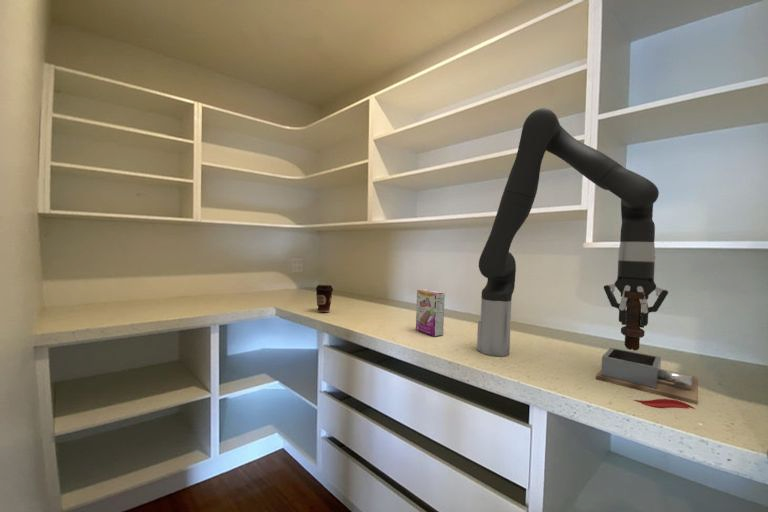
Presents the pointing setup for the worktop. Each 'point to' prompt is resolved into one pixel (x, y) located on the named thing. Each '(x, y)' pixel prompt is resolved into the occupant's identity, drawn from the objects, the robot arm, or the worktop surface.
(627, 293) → the bolt
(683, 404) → the cayenne pepper
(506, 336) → the robot arm
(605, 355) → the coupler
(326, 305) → the coffee cup
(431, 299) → the candy bar box
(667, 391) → the base
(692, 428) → the worktop surface
